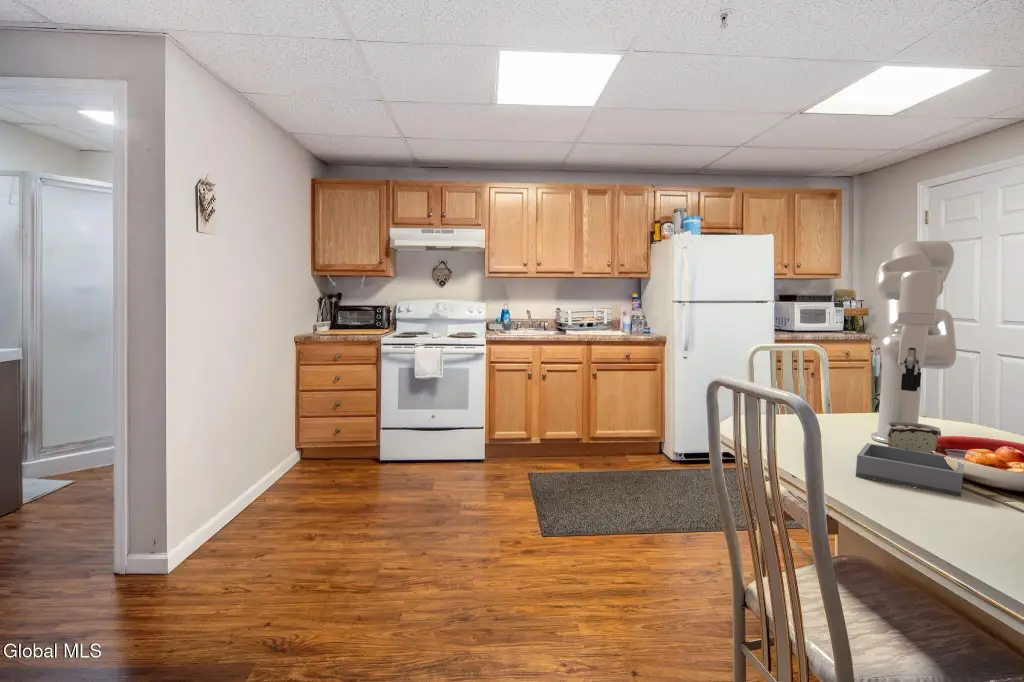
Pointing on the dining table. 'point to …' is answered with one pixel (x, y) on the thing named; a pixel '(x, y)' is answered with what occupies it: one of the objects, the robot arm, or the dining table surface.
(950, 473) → the bin
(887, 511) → the dining table surface
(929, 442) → the food container
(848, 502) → the dining table surface
